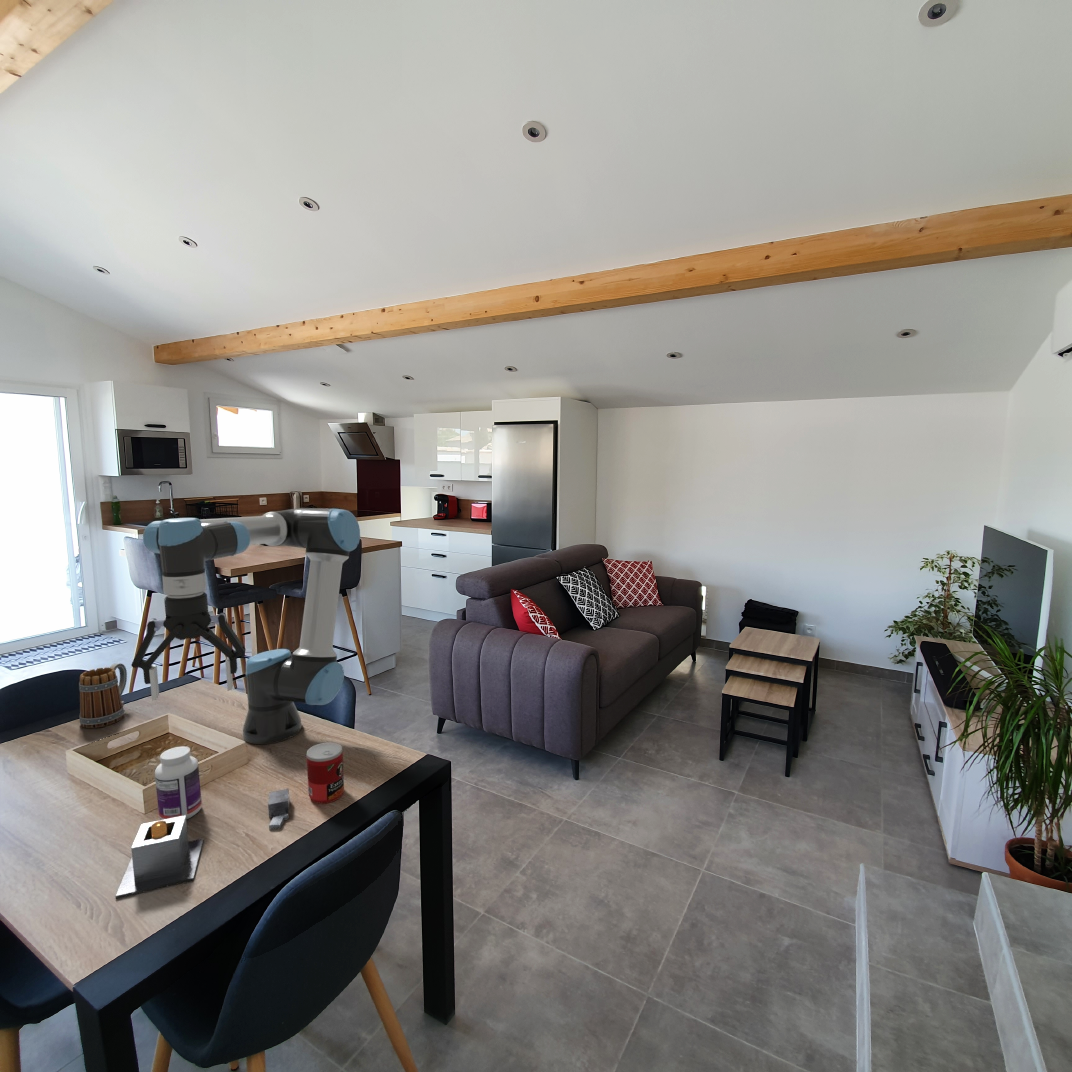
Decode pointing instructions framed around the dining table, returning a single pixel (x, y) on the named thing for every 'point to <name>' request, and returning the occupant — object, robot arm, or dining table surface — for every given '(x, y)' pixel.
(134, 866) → the end link
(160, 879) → the keeper base
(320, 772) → the canned food
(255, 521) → the robot arm
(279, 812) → the grey block with tab
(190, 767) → the pill bottle
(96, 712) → the mug
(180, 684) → the dining table surface
